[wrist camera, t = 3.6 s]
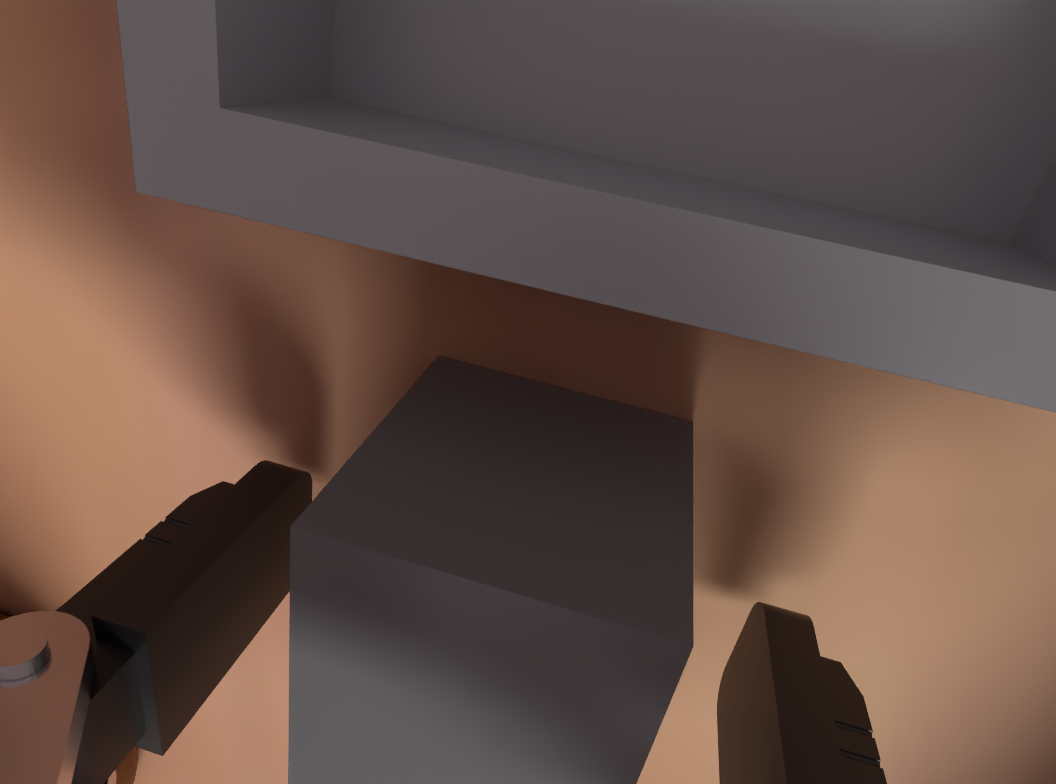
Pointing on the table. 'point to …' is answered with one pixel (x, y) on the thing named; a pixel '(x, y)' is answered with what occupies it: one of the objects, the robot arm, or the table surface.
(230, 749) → the table surface
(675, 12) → the tray
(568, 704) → the block
